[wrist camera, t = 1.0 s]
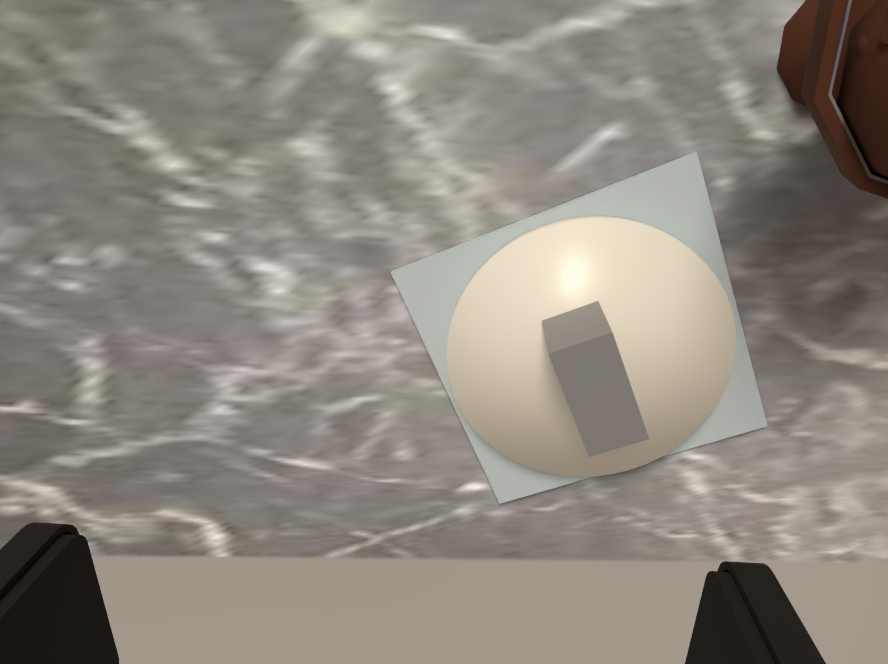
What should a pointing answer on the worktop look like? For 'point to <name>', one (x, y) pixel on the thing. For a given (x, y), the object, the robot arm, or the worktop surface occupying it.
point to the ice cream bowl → (843, 82)
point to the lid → (590, 346)
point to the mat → (639, 198)
